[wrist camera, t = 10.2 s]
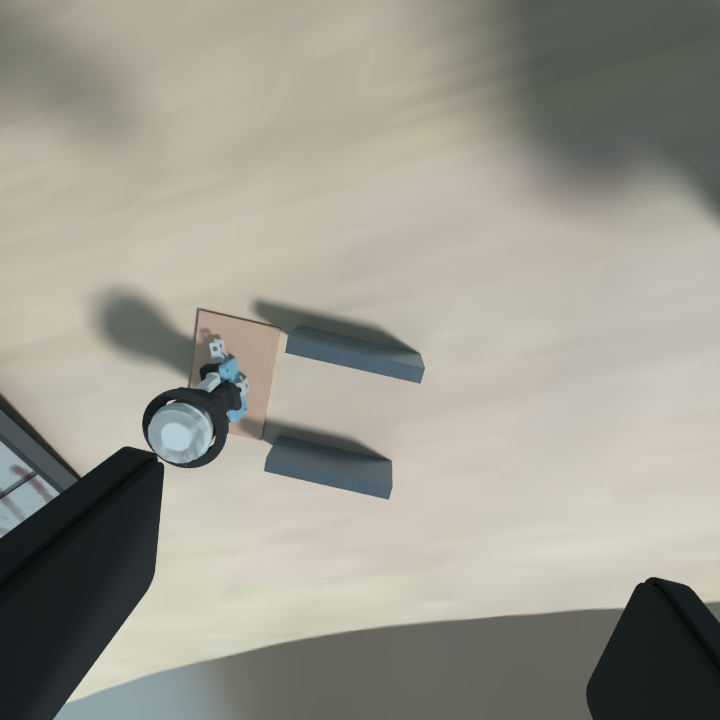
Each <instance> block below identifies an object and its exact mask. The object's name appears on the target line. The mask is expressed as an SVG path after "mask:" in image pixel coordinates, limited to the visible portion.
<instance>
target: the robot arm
mask: <svg viewBox="0 0 720 720" xmlns="http://www.w3.org/2000/svg"><path fill="white" fill-rule="evenodd" d="M163 478H164V465H163V463H161V462H158V458H157V455H156V454H155V453H153V452H149V451H145V450H141V449H137V448H133V447H129V446H127V447H123V448H121V449H120V450H118V451H117V452H116V453H114V454H113V455H112V456H110V457H109V458H108V459H106V460H105V461H104V462H102V463H101V464H100V465H98V466H97V467H96V468H94V469H93V470H92V471H90V472H89V473H87V474H86V475H85V476H83V477H82V478H81V479H79V480H78V481H77V482H75V483H74V484H73V485H71V486H70V487H69V488H67V489H66V490H65V491H63V492H62V493H60V494H59V495H58V496H56V497H55V498H54V499H52V500H51V501H50V502H48V503H47V504H46V505H44V506H43V507H42V508H40V509H39V510H38V511H36V512H35V513H34V514H32V515H31V516H29V517H28V518H27V519H25V520H24V521H23V522H21V523H20V524H19V525H17V526H16V527H15V528H13V529H12V530H11V531H9V532H8V533H7V534H5V535H4V536H2V537H1V538H0V720H53V719H54V717H55V716H56V715H57V713H58V712H59V711H60V709H61V708H62V706H63V705H64V704H65V702H66V701H67V700H68V698H69V697H70V696H71V694H72V693H73V691H74V690H75V689H76V687H77V686H78V685H79V683H80V682H81V681H82V679H83V678H84V676H85V675H86V674H87V672H88V671H89V670H90V668H91V667H92V666H93V664H94V663H95V661H96V660H97V659H98V657H99V656H100V655H101V653H102V652H103V650H104V649H105V648H106V646H107V645H108V644H109V642H110V641H111V640H112V638H113V637H114V635H115V634H116V633H117V631H118V630H119V629H120V627H121V626H122V625H123V623H124V622H125V620H126V619H127V618H128V616H129V615H130V614H131V612H132V611H133V610H134V608H135V607H136V605H137V604H138V603H139V601H140V600H141V599H142V597H143V596H144V595H145V593H146V592H147V590H148V589H149V587H150V585H151V582H152V580H153V577H154V573H155V565H156V555H157V544H158V533H159V522H160V511H161V500H162V489H163ZM586 693H587V694H586V696H587V704H588V707H589V710H590V712H591V715H592V718H593V720H720V623H719V622H718V620H717V619H716V618H715V617H714V616H713V614H712V613H711V612H710V611H709V609H708V608H707V607H706V606H705V604H704V603H703V602H702V601H701V600H700V598H699V597H698V596H697V595H696V593H695V592H694V591H693V590H692V589H691V588H690V587H689V586H686V585H684V584H680V583H676V582H672V581H668V580H664V579H660V578H656V577H650V578H649V579H647V580H646V581H645V583H640V584H638V585H637V586H636V588H635V589H634V591H633V593H632V596H631V598H630V600H629V602H628V604H627V606H626V608H625V610H624V612H623V614H622V616H621V618H620V620H619V622H618V624H617V626H616V628H615V630H614V632H613V634H612V636H611V638H610V640H609V642H608V644H607V646H606V648H605V650H604V652H603V654H602V656H601V658H600V660H599V663H598V664H597V666H596V668H595V670H594V672H593V674H592V677H591V678H590V680H589V682H588V685H587V691H586Z"/></svg>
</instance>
